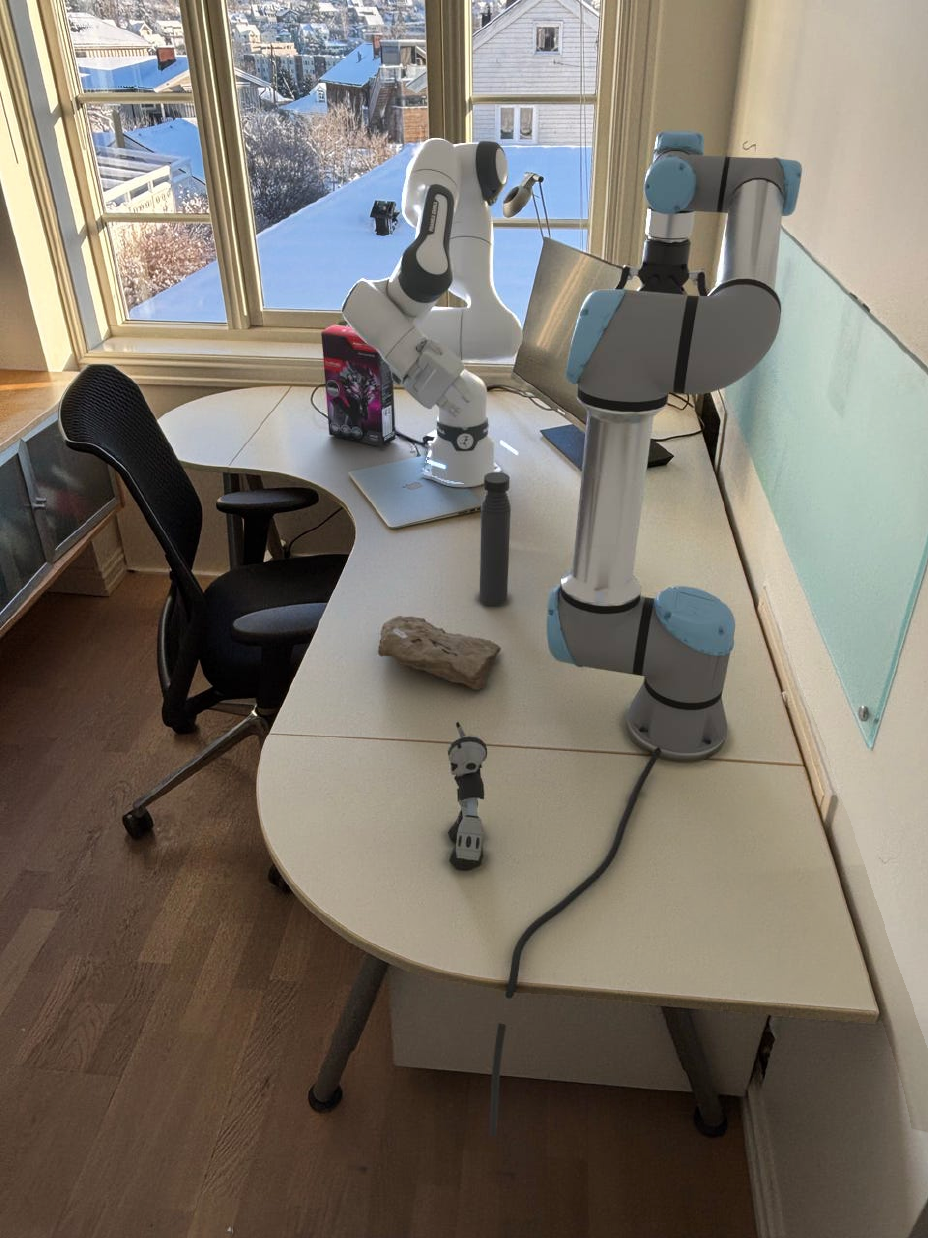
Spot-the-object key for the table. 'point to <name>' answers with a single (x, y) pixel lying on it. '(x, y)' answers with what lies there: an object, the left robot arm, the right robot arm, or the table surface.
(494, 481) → the cap
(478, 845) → the robot
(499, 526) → the bottle
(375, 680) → the table surface
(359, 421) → the graphics card box
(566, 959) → the table surface
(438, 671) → the stone
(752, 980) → the table surface
